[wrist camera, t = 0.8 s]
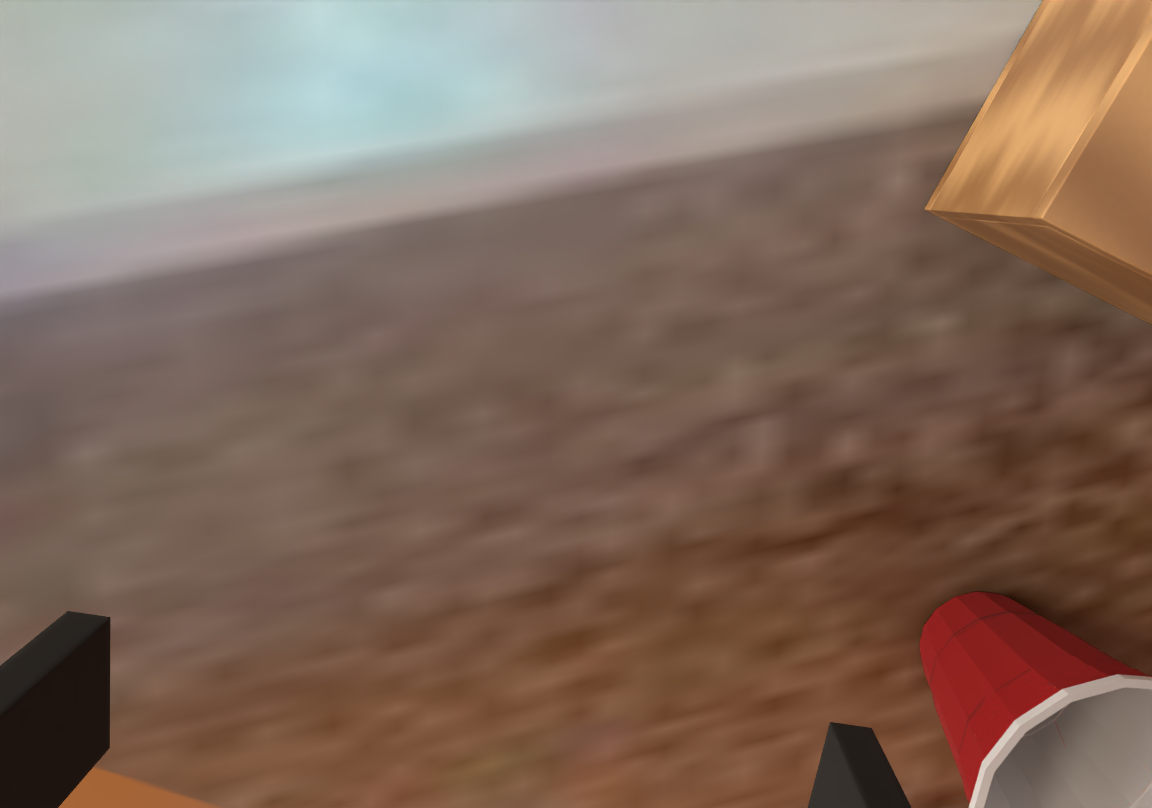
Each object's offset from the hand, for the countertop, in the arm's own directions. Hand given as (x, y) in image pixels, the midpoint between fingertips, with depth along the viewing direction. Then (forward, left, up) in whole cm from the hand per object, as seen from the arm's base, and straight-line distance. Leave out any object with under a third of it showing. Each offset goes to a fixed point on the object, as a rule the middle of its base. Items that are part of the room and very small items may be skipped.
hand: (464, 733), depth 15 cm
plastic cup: (+11, +23, -26) cm, 37 cm away
